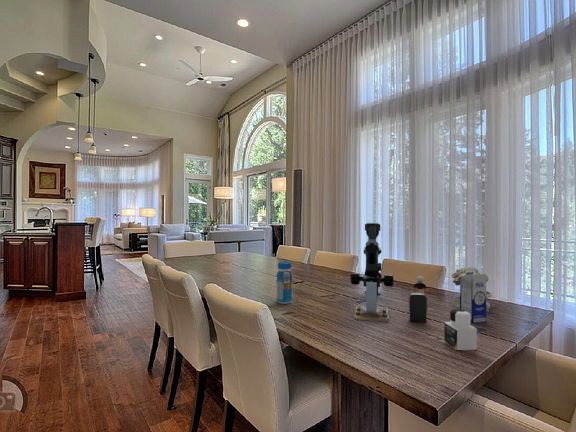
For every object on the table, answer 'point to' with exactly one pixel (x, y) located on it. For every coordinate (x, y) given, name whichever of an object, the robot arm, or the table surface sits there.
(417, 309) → the battery charger
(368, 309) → the tall pale blue pillar
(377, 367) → the table surface
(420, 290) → the grandmother figurine
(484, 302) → the milk carton
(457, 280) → the cherub figurine
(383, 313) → the keyhole track
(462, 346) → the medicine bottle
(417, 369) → the table surface
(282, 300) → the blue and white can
